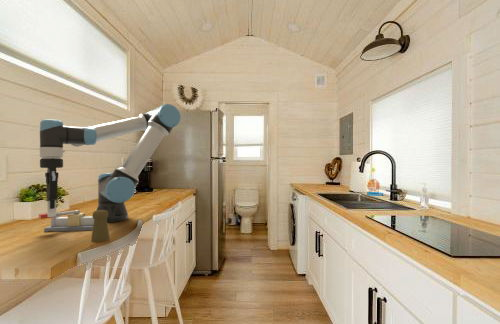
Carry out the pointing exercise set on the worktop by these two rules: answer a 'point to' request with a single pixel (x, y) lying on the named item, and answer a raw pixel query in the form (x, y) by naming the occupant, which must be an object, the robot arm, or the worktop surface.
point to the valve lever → (59, 214)
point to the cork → (100, 226)
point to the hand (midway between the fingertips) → (51, 216)
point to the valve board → (69, 228)
